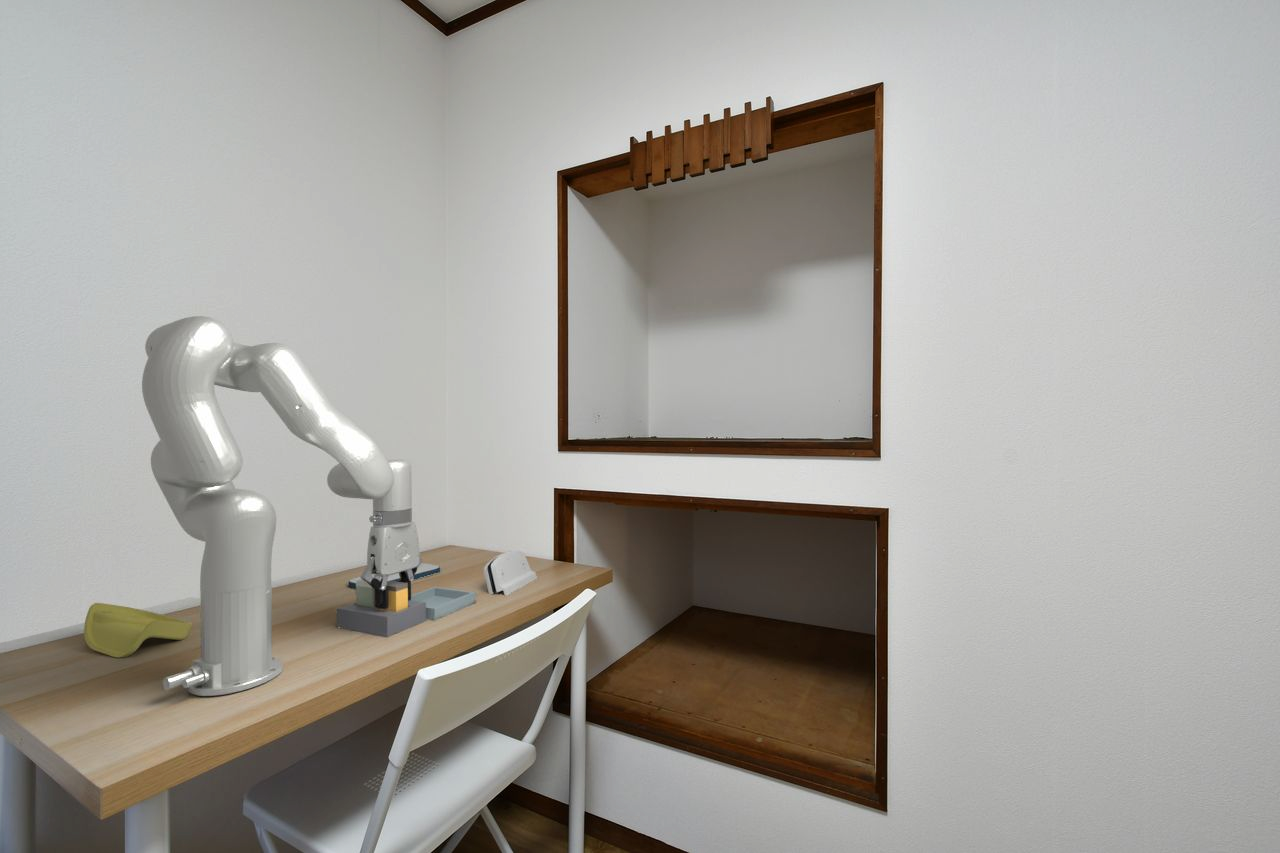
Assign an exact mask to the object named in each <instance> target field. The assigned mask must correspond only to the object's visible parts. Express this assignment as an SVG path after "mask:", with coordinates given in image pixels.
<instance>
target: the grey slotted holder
mask: <svg viewBox="0 0 1280 853" xmlns="http://www.w3.org/2000/svg"><path fill="white" fill-rule="evenodd" d="M483 574H484V578H485V582H486V587H487V591H488V595H493V594H494V593H499V592H502V591H503V594H504V596H506V595H507V596H508V595H510V594H512V593H514V592H515V590H516V591H517V589H518V590H519V588H520V589H521V588H523V587H525V586H527V585H529V584H530V582H531V583H532V582H534V581H536V580H538V576H537V573H536V572H535V571H533V570H532V569H531V566H530V564H529V561H528V559H527V557H526V554H525V553H524V552H523V551H519V550H511V551H506V552H503V553H500V554H498V555H496V556H495V557H493V558H492V559H490V560H489V561H488V562H487V563H486V564H485V565H484V567H483ZM535 579H536V580H535ZM533 580H534V581H533ZM528 583H529V584H528ZM526 584H527V585H526ZM513 591H514V592H513ZM511 592H512V593H511Z"/></svg>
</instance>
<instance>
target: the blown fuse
mask: <svg viewBox="0 0 1280 853" xmlns="http://www.w3.org/2000/svg"><path fill="white" fill-rule="evenodd" d="M385 589H388V596H389V607H388V608H387V609H383V610H389V611H395V612H396V611H399V610H402V609H404V608H407V607H408V583H404V582H396V581H388V582H387V584H386V588H385ZM379 609H381V608H379Z"/></svg>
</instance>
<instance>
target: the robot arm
mask: <svg viewBox="0 0 1280 853" xmlns="http://www.w3.org/2000/svg"><path fill="white" fill-rule="evenodd" d="M144 345H145V347H144V348H145V354H146V356H147V360H146V364H145V365H144V369H143V372H142V377H141V378H142V379H141V389H142V390H141V392H142V398H143V401H144V404H145V407H146V409H147V412H148V414H149V417H150V419H151V422H152V424H153V427H154V429H155V431H156V433H157V435H158V438H159V441H157V443H156V444H155V446H154V448H153V449H152V451H151V456H150V465H151V466H150V467H151V470H152V475H153V477H154V479H155V480H156V483H157V485H158V487H159V489H160V490H161V492H162V495H163V496H164V498H165V500H166V502H167V504H168V506H169V508H170V509H171V511H172V513H173V515H174V517H175V518H176V520H177V522H178V524H179V525H180V527H181V528H182V530H183V531H184V532H185V533H186V534H187V535H189V536H190V537H191V538H193V539H196V540H198V541H200V542H204V550H203V553H202V554H203V555H202V559H201V563H200V564H201V565H200V573H199V575H200V577H199V578H200V581H199V586H200V587H199V588H200V589H199V591H200V595H199V597H200V657H199V658H197V659H193V660H192V663H193V664H192V666H190V667H188V668H187V669H186V671H183V672H180V673H179V672H178V673H176V674H172V675H169V676H166V677H164V678H163V679H162V680H163V681H162V686H163V689H164V690H165V691H169V690H172V689H174V688H177V687H180V686H182V687H183V688H184V689H188V692H189V693H190V694H192V695H195V696H198V697H199V696H201V697H212V696H213V697H214V696H223V695H229V694H233V693H238V692H242V691H245V690H246V691H247V690H248V689H252V688H255V687H257V686H260V685H263V684H265V683H267V682H269V681H271V680H272V679H274V678H276V677H277V676H278V675H279V674H281V673H282V671H283V669H284V664H283V663H284V662H283V660H282V659H281V658H278V657H274V656H273V647H272V646H273V642H272V641H273V640H272V639H273V638H272V637H273V630H272V629H273V628H272V622H273V621H272V618H273V617H272V616H273V615H272V613H273V612H272V605H273V604H272V555H273V545H274V540H275V534H276V528H277V514H276V511H275V506H273V504H272V503H271V501H270V500H269V499H268V498H267V497H266V496H264V495H262V494H261V493H259V492H256V491H254V490H250V489H245V488H244V489H242V488H236V487H235V485H234V483H233V480H234V479H236V478H237V477H238V475H239V474H240V472H241V471H242V468H243V464H244V463H243V462H244V461H243V456H242V452H241V449H240V447H239V445H238V443H237V441H236V439H235V438H234V435H233V433H232V431H231V429H230V427H229V425H228V423H227V420H226V419H225V416H224V414H223V413H222V410H221V407H220V404H219V402H218V399H217V397H216V392H215V386H218V387H221V388H227V389H232V390H235V391H241V392H247V393H260V394H261V395H262V397H263V398H264V399H265V400H266V401H267V403H268V404H269V406H270V407H271V408H272V409H273V410H274V411H275V413H276V414H277V416H278V417H279V418H280V419H281V421H282V422H283V423H284V425H285V427H286V428H287V429H288V430H289V431H290V433H291V434H293V435H294V436H296V437H297V438H299V440H302V441H304V442H305V443H307V444H309V445H312V446H314V447H317V448H319V449H320V450H322V451H324V452H325V453H327V454H328V455H329V456H330V457H332V458H333V459H334V460H336V462H338V463H337V464H336V465H334V466H333V467H332V468H331V469H330V470H329V472H328V474H327V477H326V478H327V480H326V483H327V486H328V488H329V489H330V491H331V492H333V493H334V494H335V495H337V496H339V497H342V498H349V499H363V500H372V515H370V517H369V522H370V523H372V526H370V530H369V535H368V542H367V553H366V566H365V568H364V569H363V571H362V573H361V574H360V577H361V579H362V580H364V581H365V582H367V583H368V584H369V585H370V586H372V589H375V607H376V608H381V609H387V608H388V607H389V596H388V589H385V588H386V584H387V580H388V576H389V575H393V574H396V573H399V576H400V579H401V580H399V581H398V582H404V583H408V601H409V600H411V595H412V582H413V581H414V580H413V579H414V574H415V573H416V571H417V568H418V567H419V566H420V565H421V563H423V560H422V558H421V556H420V544H419V543H420V542H419V541H420V540H419V535H418V530H417V525H416V522H415V521H413V513H412V512H413V510H412V509H413V508H412V506H413V504H412V500H413V498H412V491H413V490H412V465H411V463H410V461H409V460H406V459H387V458H386V457H385V456H384V454H383V452H382V451H381V449H380V448H379V447H378V445H377V444H376V443H375V441H374V440H373V439H372V438H371V437H370V435H368V433H367V434H366V433H365V432H364V431H363V429H361V428H360V427H358V426H357V425H356V424H355V423H354V422H352V420H350V419H349V418H348V417H346V415H344V414H343V413H341V412H340V411H339V410H338V409H337V408H336V407H335V405H334V404H333V403H332V401H331V400H330V398H329V397H328V395H327V394H326V393H325V392H324V390H323V388H322V387H321V385H320V384H319V383H318V382H317V380H316V378H315V376H314V375H313V374H312V373H311V371H310V370H309V368H308V367H307V366H306V364H305V362H304V361H303V360H302V358H301V357H300V356H299V354H298V353H297V352H296V351H295V350H294V349H293V348H292V347H290V346H288V345H286V344H283V343H277V342H267V343H261V344H255V345H251V346H250V345H246V344H241V343H237V342H234V339H233V337H232V333H231V332H230V330H229V328H227V326H226V325H225V324H224V323H222V322H221V321H219V320H217V319H215V318H213V317H209V316H203V315H198V316H197V315H195V316H188V317H183V318H181V319H177V320H175V321H173V322H170V323H167V324H164V325H162V326H159V327H157V328H155V329H154V330H153V331H152V332H151V333H150V334H149V335H148V336H147V339H146V341H145V344H144ZM372 574H374V577H373V576H372ZM380 577H382V578H381V582H380Z"/></svg>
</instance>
